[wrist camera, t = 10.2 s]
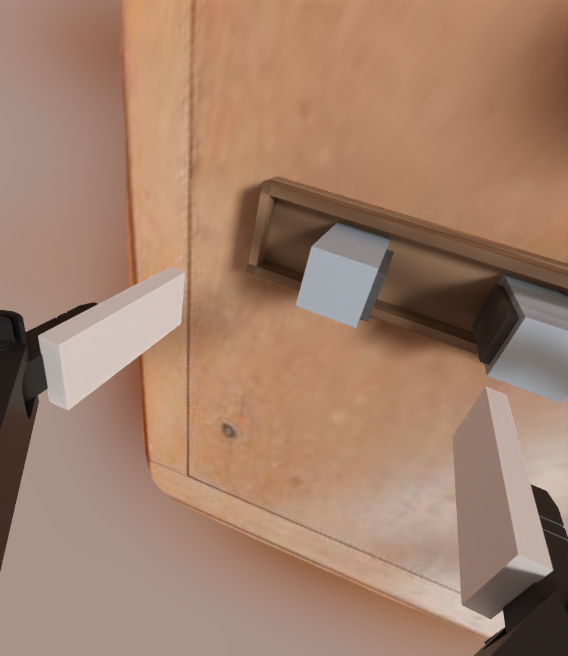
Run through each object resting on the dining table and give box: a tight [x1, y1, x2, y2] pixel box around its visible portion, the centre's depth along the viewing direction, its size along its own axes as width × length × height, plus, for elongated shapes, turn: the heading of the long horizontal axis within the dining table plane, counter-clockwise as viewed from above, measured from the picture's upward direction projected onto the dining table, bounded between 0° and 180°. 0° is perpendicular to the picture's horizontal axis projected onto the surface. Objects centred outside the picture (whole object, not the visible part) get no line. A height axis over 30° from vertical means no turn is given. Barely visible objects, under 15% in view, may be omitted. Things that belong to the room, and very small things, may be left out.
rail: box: [247, 177, 568, 403], centre depth 28 cm, size 8×26×10 cm, turn 76°
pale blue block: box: [296, 222, 394, 328], centre depth 28 cm, size 4×5×8 cm
